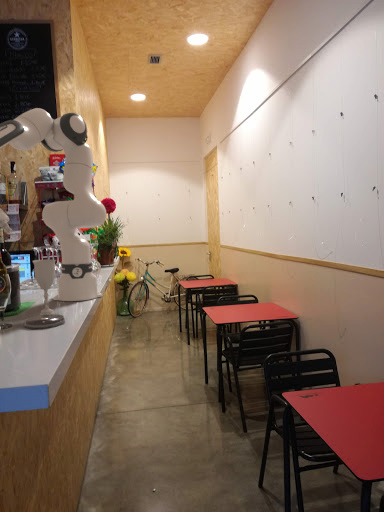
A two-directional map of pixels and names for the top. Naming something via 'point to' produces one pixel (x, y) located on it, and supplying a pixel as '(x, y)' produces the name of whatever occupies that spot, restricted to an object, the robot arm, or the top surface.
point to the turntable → (44, 321)
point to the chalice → (45, 280)
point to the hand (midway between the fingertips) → (3, 232)
